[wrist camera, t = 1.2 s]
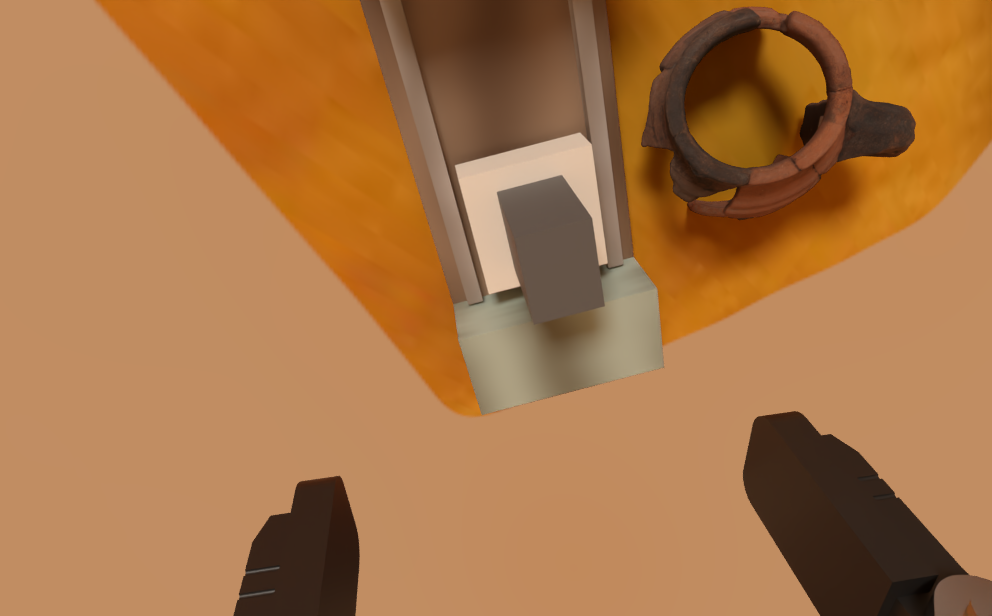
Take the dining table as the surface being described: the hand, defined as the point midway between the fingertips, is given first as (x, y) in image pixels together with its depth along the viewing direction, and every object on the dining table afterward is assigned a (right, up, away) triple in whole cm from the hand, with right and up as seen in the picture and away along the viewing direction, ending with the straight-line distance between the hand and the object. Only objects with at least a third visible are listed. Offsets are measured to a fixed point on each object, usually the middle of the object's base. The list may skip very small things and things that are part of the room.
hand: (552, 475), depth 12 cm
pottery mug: (+11, +13, +19) cm, 26 cm away
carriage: (+1, +8, +18) cm, 19 cm away
